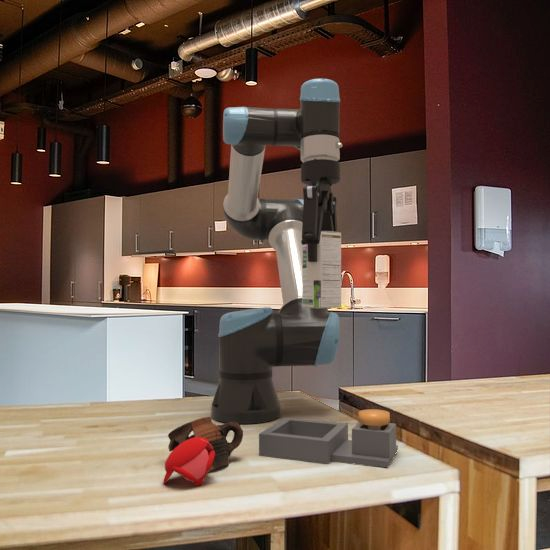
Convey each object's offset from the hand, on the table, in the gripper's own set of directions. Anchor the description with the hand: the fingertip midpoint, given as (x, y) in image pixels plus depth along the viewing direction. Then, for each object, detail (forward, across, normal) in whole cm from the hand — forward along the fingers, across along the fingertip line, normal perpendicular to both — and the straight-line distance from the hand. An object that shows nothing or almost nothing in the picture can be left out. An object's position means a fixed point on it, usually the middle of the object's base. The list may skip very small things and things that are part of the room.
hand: (321, 280), depth 101 cm
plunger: (+27, -10, -12) cm, 32 cm away
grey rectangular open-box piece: (+29, -10, -4) cm, 31 cm away
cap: (+29, -30, +10) cm, 44 cm away
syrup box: (+5, 0, 0) cm, 5 cm away
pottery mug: (+30, -22, +12) cm, 39 cm away
